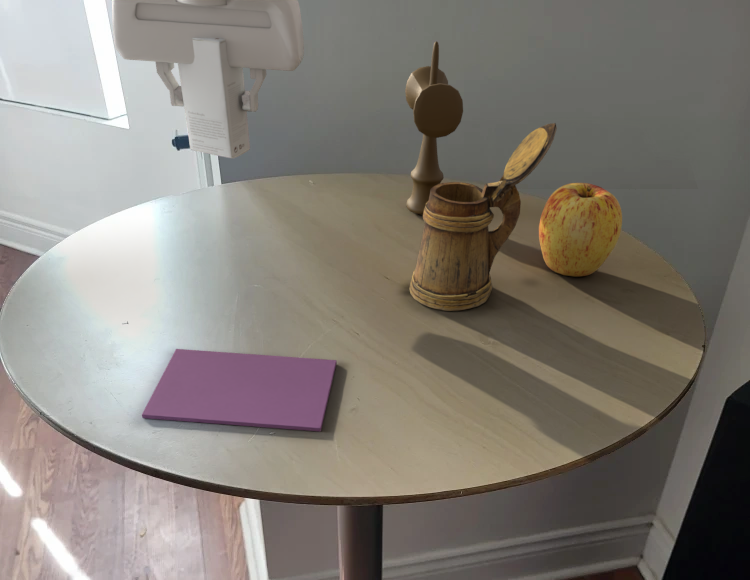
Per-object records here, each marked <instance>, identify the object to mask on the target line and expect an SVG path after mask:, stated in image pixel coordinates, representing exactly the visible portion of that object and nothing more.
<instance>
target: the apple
mask: <svg viewBox="0 0 750 580" xmlns="http://www.w3.org/2000/svg"><path fill="white" fill-rule="evenodd" d="M544 204H545V205H544V207H543V209H542V212H541V215H540V220H539V224H538V239H539V244H540V250H541V254H542V258H543V261H544V262H545V265H546V266H547V267H548V268H549V269H550V270H551V271H552V272H554V273H557V274H559V275H563V276H569V277H586V276H589V275H592V274H593V273H595V272H596V271H597V270H599V269H600V267H601V266H602V265H603V264H604V263H605V262H606V260H607V259H608V258H609V257H610V255H611V253H612V252H613V251H614V249H615V247H616V245H617V243H618V241H619V238H620V235H621V233H622V227H623V211H622V208H621V205H620V202H619V200H618V199H617V197H615V195H614V194H613V193H611V192H609V191H608V190H606V189H605V188H603V187H602V186H599V185H596V184H594V183H593V184H592V183H588V182H570V183H567V184H564V185H562V186H560V187H558V188H557V189H556V190H554V191H553V192H552V193H551V194H550V196H549V197H548V199H547V200H546V202H545V203H544Z"/></svg>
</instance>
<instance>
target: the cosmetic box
mask: <svg viewBox="0 0 750 580" xmlns="http://www.w3.org/2000/svg"><path fill="white" fill-rule="evenodd" d="M192 39H193V48H194V56H195V58H194V61H193V63H191V64H183V63H177V68H178V74H179V81H180V86H181V89H182V95H183V103H184V107H183V108H184V116H185V122H186V131H187V135H188V142H189V143H188V144H189V150H190V151H192V152H198V153H202V154H208V155H212V156H218V157H221V158H227V159H231V160H233V159H236V158H238V157H240V156H242V155H244V154H246V153H248V151H250V150H251V141H250V131H249V120H248V111H243V109H242V105H243V102H242V94H243V93H244V91H246V88H245V78H244V76H245V75H244V68H240V67H230V66H229V65H228V60H227V51H226V41H225V39H219V38H192Z"/></svg>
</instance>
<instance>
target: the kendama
mask: <svg viewBox="0 0 750 580" xmlns="http://www.w3.org/2000/svg"><path fill="white" fill-rule="evenodd" d="M439 61H440V46H439V42H438V41H435V42H433V46H432V54H431V63H430V65H426V66H421V67H418V68H417V69H415V70H413V71H412V72H411V73H410V74H409V77H408V78H407V81H406V84H405V88H404V89H405V91H404V92H405V101H406V103H407V105H408V106H409V108H410V109H411V110H412V113H413V122H414V124H415V127H416V128H417V130H418V132H420V133H421V134H422V140H421V146H420V149H419V154H418V159H417V161H416V165H415V167H414V168H413V169H412V170H411V171H410V178H411V180H412V182H413V185H412V191H411V195H410V197H409V198H408V199H407V200H406V208H407V209H408V210H409V212H410V213H411V212H412V213H413V214H417V215H422V216H423V213H424V209H425V206H426V203H427V202H428V201H429V196H430V191H431V189H432V188H433V187H434V186H436V185H438V184H441V183H442V181H443V180H444V173H443V172H442V170H441V168H440V164H439V157H438V139H439V138H445V137H447V136H449V135H451V134H453V133H454V132H455V131H456V130H457V129H458V127H459V125H460V124H461V122H462V118H463V114H464V103H463V98H462V96H461V94H460V91H459V90H458V89H457V88H455V87H454V86H452V85H451V84H449V80H448V78H447V75H446V74H445V72H444V71H443V70H441V69H440V68H439V65H440V63H439Z"/></svg>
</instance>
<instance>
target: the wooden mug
mask: <svg viewBox="0 0 750 580" xmlns="http://www.w3.org/2000/svg"><path fill="white" fill-rule="evenodd" d="M557 129H558V128H557V123H556V122H552V123H547V124H544V125H542V126H539V127H538V128H536V129H534V130H533V131H531V132H529V134H528V135H526V136H525V138H523V139H522V141H520V143H519V144H518V146H517V147H516V148H515V149H514V151H513V152H512V153H511V156H510V157H509V159H508V160H507V163H506V165H505V167H504V170H503V174H502V176H501V178H499V180H498V181H495V182H488V183H485V184H484V185H483V188H481V187H479V186H478V185H475V184H472V183H468V182H461V181H450V182H449V181H447V182H441V183H440V184H438V185H436V186H434V187H433V188H432V189H431V191H430V196H429V201H428V202H427V203H426V206H425V209H424V213H423V215H422V219H423V222H424V225H423V231H422V236H421V240H420V246H419V251H418V255H417V260H416V265H415V269H414V270H413V272H412V276H411V280H410V284H409V292H410V295H411V296H412V298H413V299H414V300H415V301H416V302H418V303H420V304H422V305H423V306H426V307H429V308H432V309H435V310H438V311H447V312H451V311H454V312H456V311H464V310H469V309H473V308H477V307H479V306H481V305H482V304H484V303H486V302H487V300H488V299H489V298H490V296H491V292H492V289H493V282H492V276H491V274H490V273H491V270H492V267H493V263H494V260H495V257H496V256H497V255H498V253H499V251H500V249H501V248H502V247H503V245H504V244H505V243H506V241H507V240H508V239H509V238H510V235H511V234H512V233H513V231H514V229H515V227H516V226H517V223H518V220H519V217H520V215H521V203H522V201H521V196H520V192H519V190H518V189H517V185H518V184H520V183H521V182H522V181H524V180H525V179H527V178H528V176H529V175H530V174H531V173H532V172H533V171H534V170H535V169H536V168H537V167H538V165H540V163H541V162H542V161H543V159H544V158H545V156H546V155H547V153H548V151H549V150H550V148H551V146H552V144H553V142H554V139H555V136H556V134H557V133H556V132H557ZM491 208H498V209H499V210H500V211H501V213H502V221H501V222H500V224H499V225H498V227H497V228H495V229H493V230H490V231H489V225H490V224H491V223H492V222H493V220H494V217H495V214H494V211H492V210H491Z"/></svg>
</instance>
